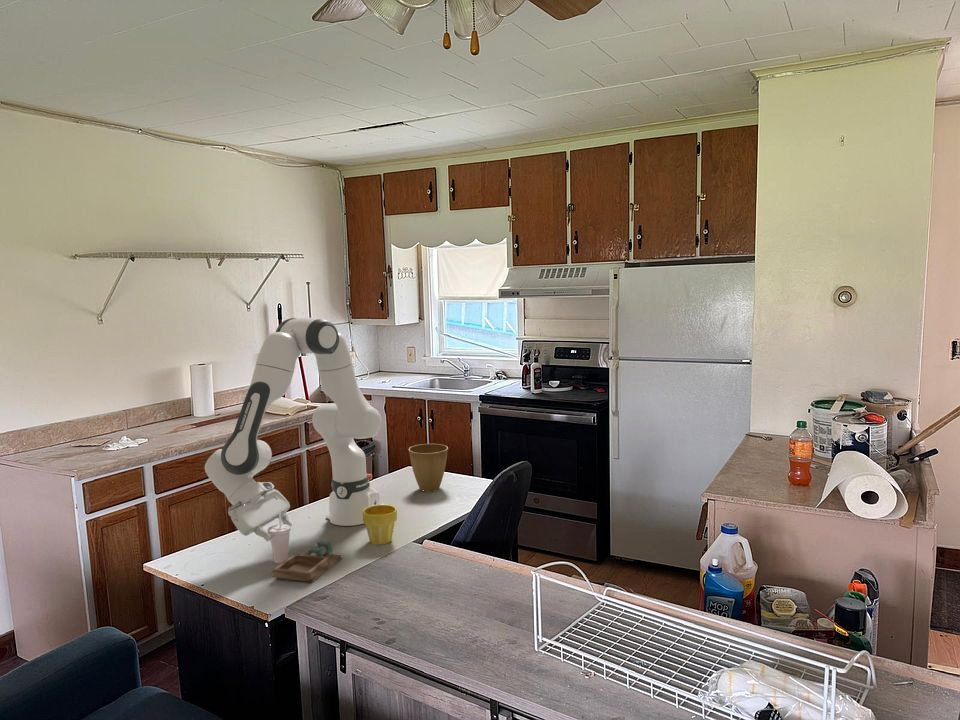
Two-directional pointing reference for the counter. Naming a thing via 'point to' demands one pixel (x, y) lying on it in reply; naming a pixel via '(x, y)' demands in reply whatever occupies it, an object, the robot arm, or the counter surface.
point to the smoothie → (280, 541)
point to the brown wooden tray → (307, 563)
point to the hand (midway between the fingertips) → (280, 533)
